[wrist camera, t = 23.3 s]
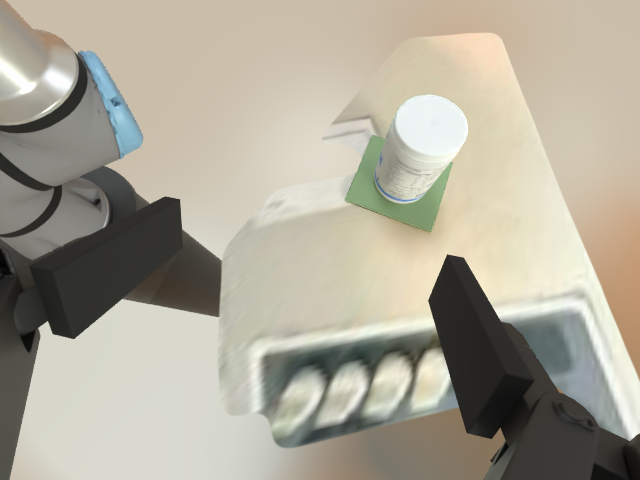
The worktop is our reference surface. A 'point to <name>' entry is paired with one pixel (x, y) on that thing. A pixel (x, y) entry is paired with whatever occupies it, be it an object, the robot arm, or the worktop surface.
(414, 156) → the supplement tub
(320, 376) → the worktop surface
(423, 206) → the mat
